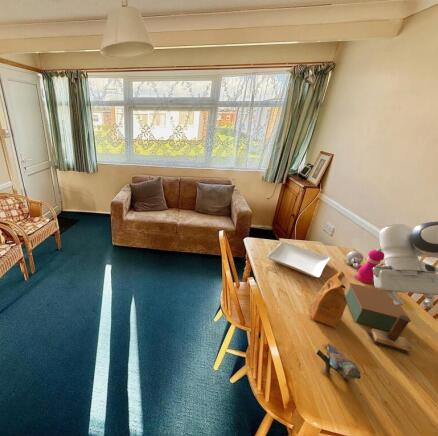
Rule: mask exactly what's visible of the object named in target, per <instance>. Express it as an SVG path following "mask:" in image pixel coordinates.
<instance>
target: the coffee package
mask: <svg viewBox="0 0 438 436" xmlns="http://www.w3.org/2000/svg"><path fill="white" fill-rule="evenodd" d="M345 276H346V275H345V273H344V271H341V270H340V271H338V273H336V274H335V275H333V276H332V277H330V278H329V279H328V280H327V281H326V282H324V284H323V286H322V287H321V288H320V289H319V291H318V293H317V294H316V296H315V298H314V300H313V302H312V305H311V307H310V310H311V311H310V313H311V318H312V320H313V321H316V322H319V323H322V324H325V325H327V326H330V327H334V328H336V326H337V325H338V322H339V321H340V320H341V319H342V318H343V315H344V312H345V310H346V307H347V304H348V303H347V300H346V297H345V296H346V294H345V290H344V289H346V285H344V283H343V282H342V281H341V280H342V279H343V278H345Z"/></svg>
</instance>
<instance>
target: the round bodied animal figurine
mask: <svg viewBox="0 0 438 436" xmlns="http://www.w3.org/2000/svg"><path fill="white" fill-rule="evenodd" d="M363 260H364V256H363V254H362V253H361V252H360V251H357V250H356V251H355V250H352V251H350V252H348V253H347V254H346V258H345V260H344V261H346V262H345V264H347V265H348V266H352V267H353V268H356V269H357V268H358V269H359V268H360V266H361V264H362V262H363Z"/></svg>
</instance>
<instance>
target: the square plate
mask: <svg viewBox="0 0 438 436" xmlns="http://www.w3.org/2000/svg"><path fill="white" fill-rule="evenodd" d="M266 257H267V258H268V259H269V260H271V261H273V262H274V263H277V264H280V265H283V266H285V267H287V268H289V269H292V270H294V271H297V272H300V273H302V274H304V275H307V276H309V277H312V278H321V276H322V274H323V272H324V269H325V267H327V266H326V265H327V264H328V263H329V262H330V260H331V257H330V256H328V255H325V254H323V253H320V252H317V251H314V250H312V249H309V248H305V247H303V246H299V245H297V244H294V243H291V242H287V241H281V242H280V243H279V244H278V245H277V246H276V247H275V248H274V249H273V250H272V251H271V252H269V254H268V255H267V256H266Z"/></svg>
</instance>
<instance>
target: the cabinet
mask: <svg viewBox="0 0 438 436" xmlns="http://www.w3.org/2000/svg"><path fill="white" fill-rule="evenodd" d="M348 285H349V288H348V290H347V292H346V294H345V297H346V300H347V304H348V307H349V309H350V312H351V314H352V316H353V319H354V321H355V322H356V323H357V324H358V323H359V324H362V325H367V326H370V327H373V328H375V329H379V330H384V331H386V332H389V331H390V329H391V328H392V326H393V325H394V323H395V322H396V320H397V319H398V317H399V315H404V316H406V317H408V318H409V319H410V322H409V323H411V322H412V320H411V318H410V317H409V315H408V314H407V312H406V310H405V309H404V308H403V307H402V305H395V304H394V301H393V299H392V298H391V297H390V296H389V295H388V292H387V291H380V290H377V289H376V288H375V287H370V286H365V285H361V284H357V283H352V282H349V283H348Z"/></svg>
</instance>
